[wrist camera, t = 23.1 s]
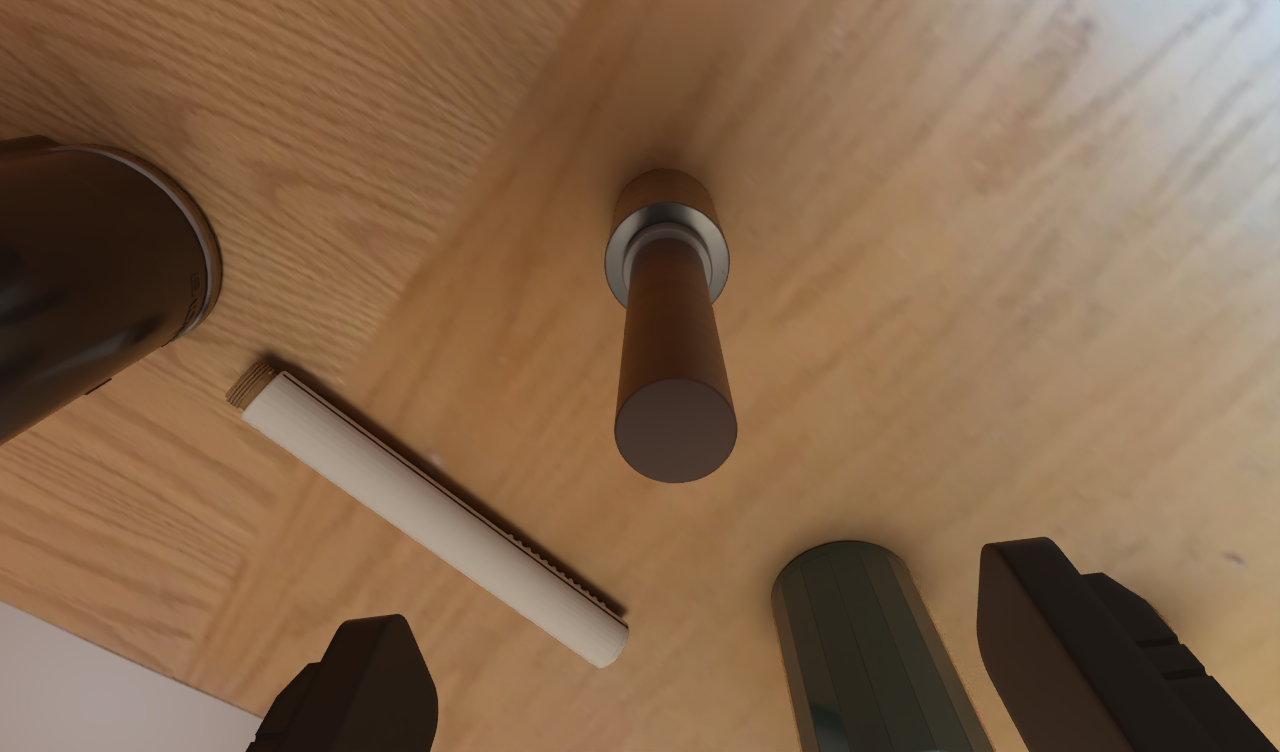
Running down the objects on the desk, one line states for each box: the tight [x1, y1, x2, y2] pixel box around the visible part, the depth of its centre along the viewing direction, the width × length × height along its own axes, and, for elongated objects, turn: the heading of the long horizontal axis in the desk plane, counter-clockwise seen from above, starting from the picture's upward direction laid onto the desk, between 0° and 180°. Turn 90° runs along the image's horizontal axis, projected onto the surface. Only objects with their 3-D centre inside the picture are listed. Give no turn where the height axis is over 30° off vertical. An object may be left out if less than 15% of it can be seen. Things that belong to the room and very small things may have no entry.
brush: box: [604, 169, 737, 483], centre depth 23 cm, size 5×5×19 cm
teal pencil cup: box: [771, 541, 997, 752], centre depth 35 cm, size 8×8×13 cm
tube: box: [225, 362, 629, 668], centre depth 38 cm, size 3×3×25 cm
